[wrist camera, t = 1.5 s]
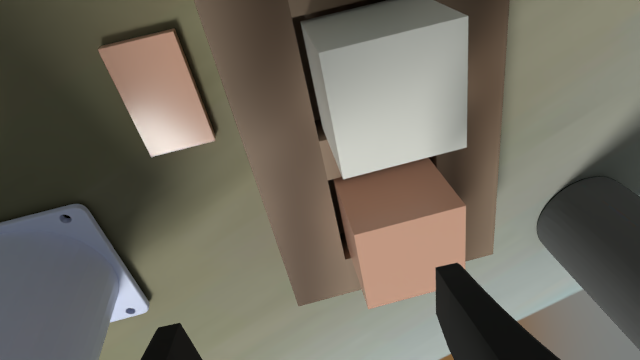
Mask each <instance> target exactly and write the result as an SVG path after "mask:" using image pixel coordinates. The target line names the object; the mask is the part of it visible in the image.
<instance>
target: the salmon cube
mask: <svg viewBox="0 0 640 360" xmlns="http://www.w3.org/2000/svg"><path fill="white" fill-rule="evenodd" d="M333 180H334V184H335V189H336V194H337V199H338V203H339V208H340V213H341V218H342V222H343V227H344V232H345V237H346V241H347V246H348V250H349V253H350V256H351V259H352V262H353V265H354V268H355V271H356V274H357V277H358V280H359V283H360V286H361V289H362V292H363V295H364V298H365V301H366V304H367V307H368V309H371V308H375V307H378V306H382V305H386V304H389V303H393V302H397V301H400V300H404V299H408V298H411V297H415V296H419V295H422V294H426V293H430V292H434V291H436V271H435V267H439V266H444V265H449V264H453V263H458V264H460V265H461V266H462V267H463V268H464V269H465V246H466V205H465V204H464V202H463V201H462V200H461V199H460V197H459V196H458V195H457V194H456V192H455V191H454V190H453V188H452V187H451V186H450V185H449V183H448V182H447V181H446V179H445V178H444V177H443V176H442V174H441V173H440V172H439V170H438V169H437V168H436V167H435V165H434V164H433V163H432V161H431V160H430V159H429V158H424V159H420V160H416V161H412V162H409V163H405V164H401V165H397V166H393V167H389V168H385V169H382V170H378V171H374V172H370V173H366V174H362V175H358V176H355V177H351V178H347V179H343V178H342V177H340V178H336V179H333Z"/></svg>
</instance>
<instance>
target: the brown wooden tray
mask: <svg viewBox="0 0 640 360" xmlns="http://www.w3.org/2000/svg"><path fill="white" fill-rule="evenodd" d="M382 1H386V0H194V2H195V5H196V8H197V11H198V14H199V17H200V20H201V22H202V25H203V28H204V31H205V34H206V37H207V40H208V43H209V46H210V49H211V52H212V55H213V58H214V60H215V63H216V66H217V69H218V72H219V75H220V78H221V81H222V84H223V87H224V90H225V93H226V96H227V98H228V101H229V104H230V107H231V110H232V113H233V116H234V119H235V122H236V125H237V128H238V131H239V134H240V136H241V139H242V142H243V145H244V148H245V151H246V154H247V157H248V160H249V163H250V166H251V169H252V172H253V174H254V177H255V180H256V183H257V186H258V189H259V192H260V195H261V198H262V201H263V204H264V207H265V210H266V212H267V215H268V218H269V221H270V224H271V227H272V230H273V233H274V236H275V239H276V242H277V245H278V248H279V250H280V253H281V256H282V259H283V262H284V265H285V268H286V271H287V274H288V277H289V280H290V283H291V286H292V288H293V291H294V294H295V297H296V300H297V303H298V306H302V305H305V304H309V303H313V302H317V301H320V300H324V299H328V298H331V297H335V296H339V295H343V294H346V293H350V292H354V291H357V290H361V286H360V283H359V280H358V277H357V274H356V271H355V268H354V265H353V262H352V259H351V256H350V253H349V250H348V246H347V241H346V237H345V232H344V227H343V222H342V218H341V213H340V208H339V203H338V199H337V194H336V189H335V184H334V180H333V179H336V178H340V177H342V175H341V173H340V170H339V168H338V165H337V163H336V160H335V158H334V155H333V153H332V150H331V148H330V145H329V143H328V140H327V138H326V135H325V133H324V130H323V127H322V123H321V118H320V113H319V109H318V104H317V99H316V94H315V90H314V85H313V80H312V75H311V71H310V66H309V61H308V56H307V52H306V47H305V42H304V37H303V33H302V28H301V23H300V21H304V20H308V19H312V18H316V17H320V16H324V15H328V14H332V13H337V12H341V11H345V10H349V9H353V8H357V7H361V6H365V5H369V4H373V3H377V2H382ZM434 1H437V2H439V3H441V4H443V5H445V6H448V7H450V8H452V9H454V10H456V11H459V12H461V13H463V14H465V15H467V16H468V87H467V147H466V148H463V149H459V150H455V151H451V152H447V153H443V154H439V155H436V156H432V157H428V158H429V159H430V160H431V161H432V163H433V164H434V165H435V167H436V168H437V169H438V170H439V172H440V173H441V174H442V176H443V177H444V178H445V179H446V181H447V182H448V183H449V185H450V186H451V187H452V188H453V190H454V191H455V192H456V194H457V195H458V196H459V197H460V199H461V200H462V201H463V202H464V204H465V205H466V246H465V261H469V260H473V259H476V258H480V257H484V256H487V255H491V254H493V244H494V229H495V214H496V198H497V183H498V168H499V153H500V137H501V122H502V107H503V91H504V76H505V61H506V45H507V30H508V15H509V0H434Z"/></svg>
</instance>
